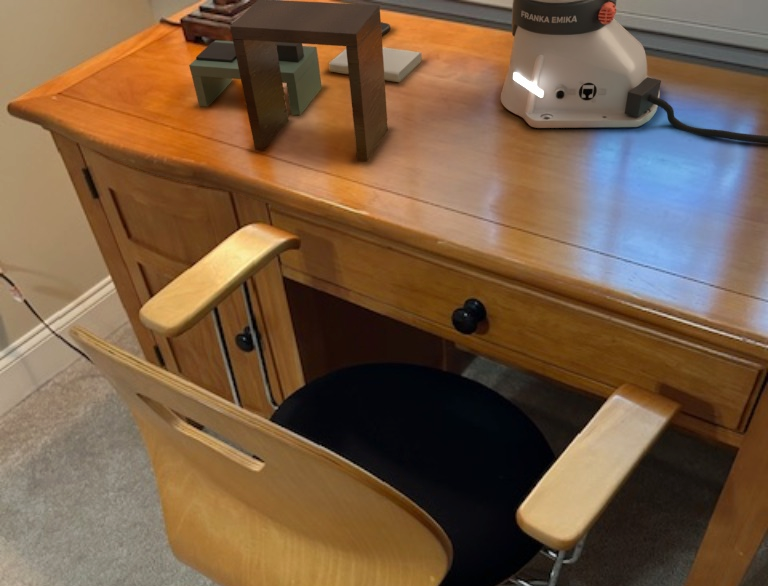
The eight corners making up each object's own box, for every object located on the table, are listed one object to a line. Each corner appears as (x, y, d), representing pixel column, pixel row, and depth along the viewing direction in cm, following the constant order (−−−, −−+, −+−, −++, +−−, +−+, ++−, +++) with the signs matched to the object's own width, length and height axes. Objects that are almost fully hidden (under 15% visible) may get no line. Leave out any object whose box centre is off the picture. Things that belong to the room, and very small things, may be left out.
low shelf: (322, 88, 123) (316, 46, 118) (300, 115, 118) (293, 73, 113) (224, 80, 127) (215, 40, 122) (199, 106, 122) (188, 65, 117)
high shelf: (388, 130, 113) (379, 4, 100) (367, 161, 108) (356, 34, 95) (279, 120, 117) (258, -2, 105) (254, 150, 112) (229, 26, 100)
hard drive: (398, 84, 122) (329, 72, 126) (422, 62, 126) (354, 51, 130) (398, 73, 121) (328, 61, 125) (421, 51, 125) (353, 41, 129)
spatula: (308, 51, 117) (306, 35, 116) (294, 67, 114) (291, 51, 112) (212, 44, 121) (209, 28, 120) (196, 60, 118) (192, 44, 117)
